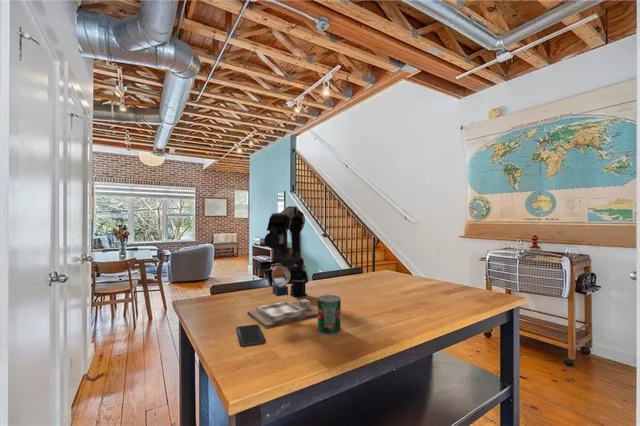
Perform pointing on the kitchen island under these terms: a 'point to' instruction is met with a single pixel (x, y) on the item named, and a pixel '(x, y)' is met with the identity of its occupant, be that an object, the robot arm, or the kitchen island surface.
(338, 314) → the canned tomato
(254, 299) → the kitchen island surface
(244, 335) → the phone
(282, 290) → the watch
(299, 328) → the kitchen island surface
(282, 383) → the kitchen island surface
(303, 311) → the charging board
